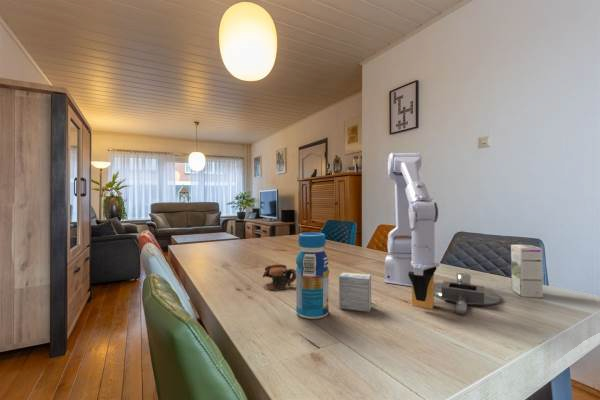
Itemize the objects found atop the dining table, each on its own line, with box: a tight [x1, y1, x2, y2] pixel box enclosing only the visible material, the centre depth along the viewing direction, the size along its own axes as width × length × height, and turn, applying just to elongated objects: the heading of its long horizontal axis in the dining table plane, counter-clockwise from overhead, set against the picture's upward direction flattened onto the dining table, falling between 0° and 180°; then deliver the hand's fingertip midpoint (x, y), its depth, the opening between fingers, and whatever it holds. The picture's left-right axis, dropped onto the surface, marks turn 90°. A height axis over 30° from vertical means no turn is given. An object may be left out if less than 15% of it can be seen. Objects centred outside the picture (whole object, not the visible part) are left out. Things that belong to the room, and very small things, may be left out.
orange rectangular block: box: [411, 275, 435, 310], centre depth 77 cm, size 5×3×8 cm, turn 59°
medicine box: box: [338, 272, 372, 313], centre depth 76 cm, size 8×4×9 cm, turn 71°
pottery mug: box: [262, 263, 296, 291], centre depth 95 cm, size 12×10×8 cm
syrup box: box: [510, 244, 544, 299], centre depth 86 cm, size 6×6×14 cm
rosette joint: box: [434, 272, 501, 316], centre depth 82 cm, size 18×26×6 cm
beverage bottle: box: [295, 232, 330, 320], centre depth 72 cm, size 8×8×20 cm
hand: (423, 296), depth 77 cm, fingers open, 7 cm apart
